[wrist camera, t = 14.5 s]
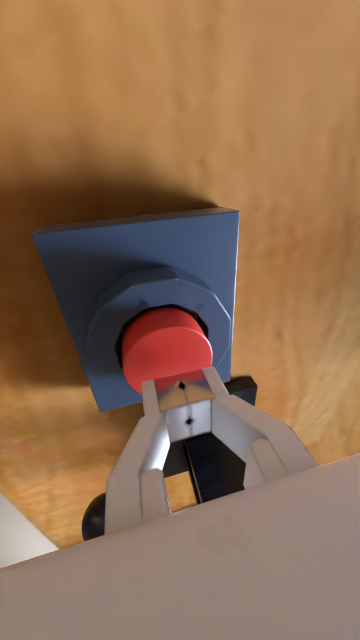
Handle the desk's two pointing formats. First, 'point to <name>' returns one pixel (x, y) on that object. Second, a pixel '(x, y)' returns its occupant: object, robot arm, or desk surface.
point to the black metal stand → (211, 455)
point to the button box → (141, 285)
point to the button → (163, 346)
